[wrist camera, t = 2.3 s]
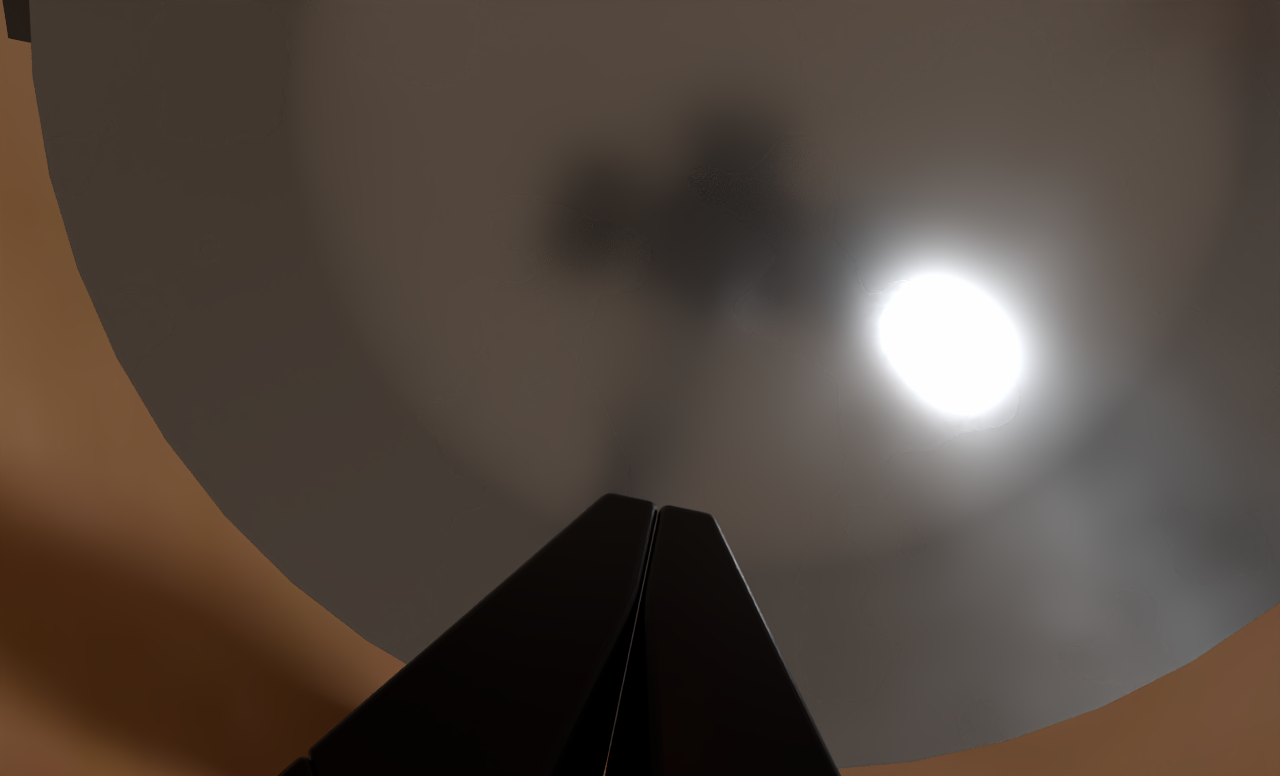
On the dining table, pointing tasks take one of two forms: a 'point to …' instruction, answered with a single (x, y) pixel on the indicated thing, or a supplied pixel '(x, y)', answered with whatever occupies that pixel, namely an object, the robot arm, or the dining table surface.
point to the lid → (716, 312)
